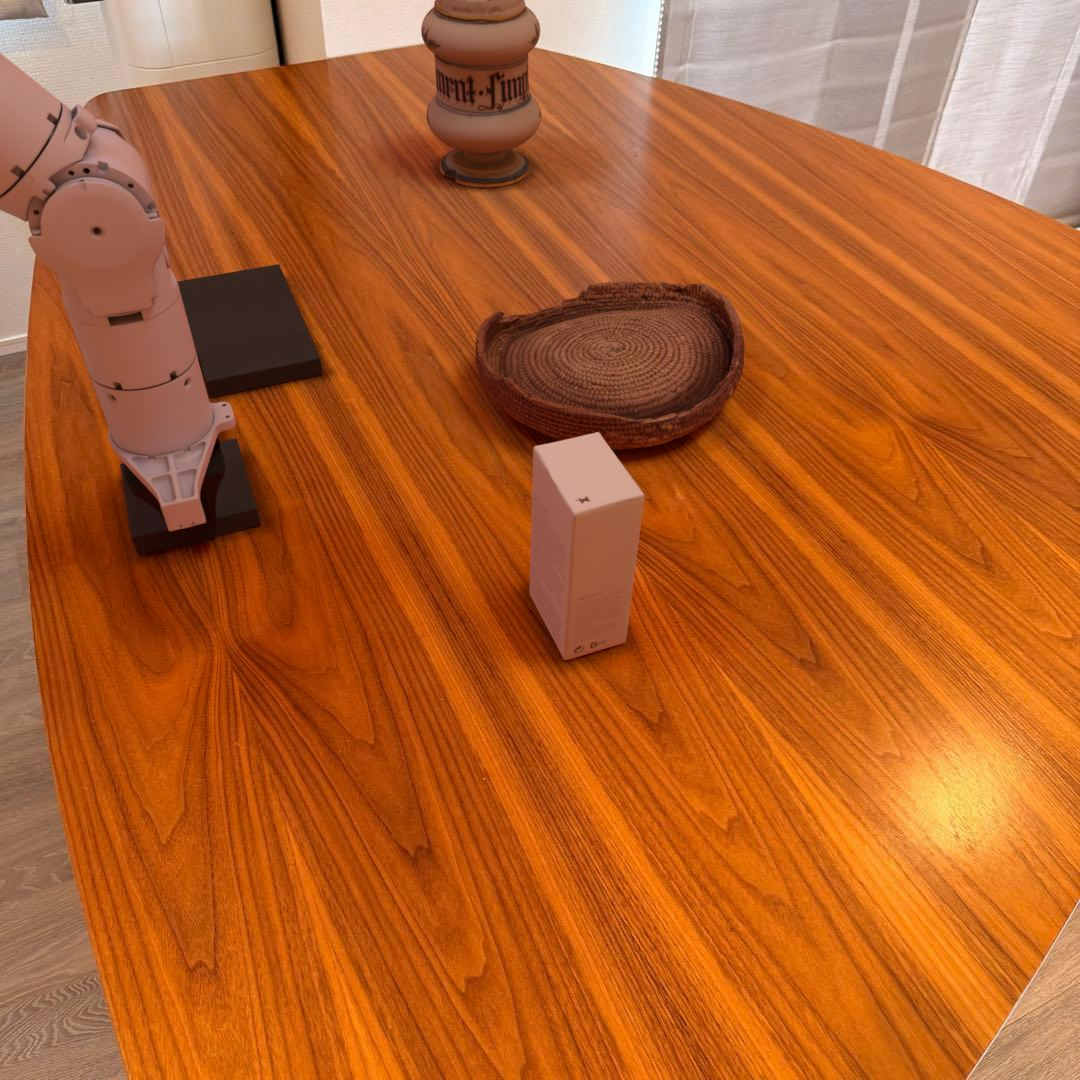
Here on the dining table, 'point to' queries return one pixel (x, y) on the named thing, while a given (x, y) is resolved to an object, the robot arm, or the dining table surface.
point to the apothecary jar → (482, 88)
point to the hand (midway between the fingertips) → (198, 536)
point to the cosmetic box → (583, 543)
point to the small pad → (231, 506)
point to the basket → (616, 362)
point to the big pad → (248, 330)
